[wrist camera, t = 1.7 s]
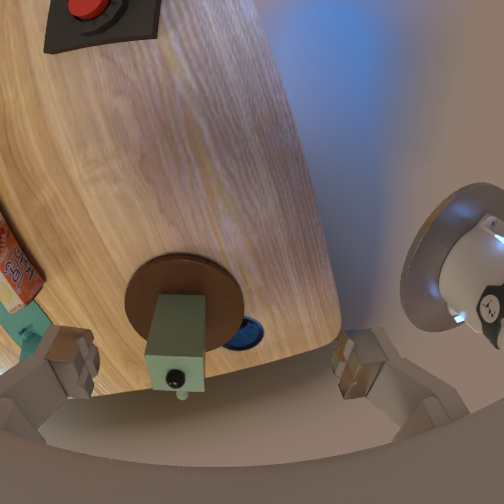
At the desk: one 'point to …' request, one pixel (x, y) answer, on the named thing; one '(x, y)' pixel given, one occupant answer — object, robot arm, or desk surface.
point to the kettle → (182, 318)
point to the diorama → (25, 327)
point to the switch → (87, 8)
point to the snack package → (16, 273)
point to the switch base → (100, 25)
